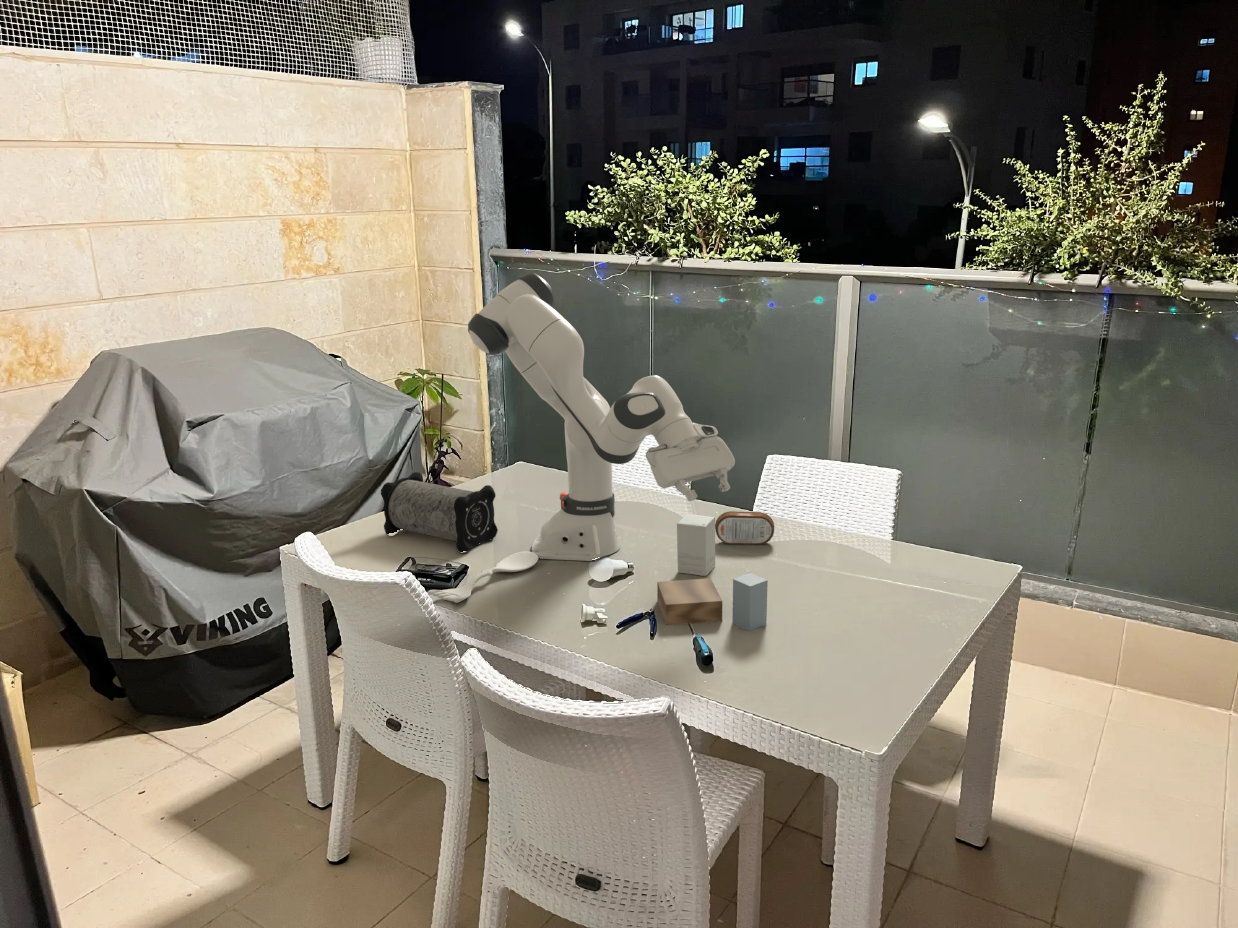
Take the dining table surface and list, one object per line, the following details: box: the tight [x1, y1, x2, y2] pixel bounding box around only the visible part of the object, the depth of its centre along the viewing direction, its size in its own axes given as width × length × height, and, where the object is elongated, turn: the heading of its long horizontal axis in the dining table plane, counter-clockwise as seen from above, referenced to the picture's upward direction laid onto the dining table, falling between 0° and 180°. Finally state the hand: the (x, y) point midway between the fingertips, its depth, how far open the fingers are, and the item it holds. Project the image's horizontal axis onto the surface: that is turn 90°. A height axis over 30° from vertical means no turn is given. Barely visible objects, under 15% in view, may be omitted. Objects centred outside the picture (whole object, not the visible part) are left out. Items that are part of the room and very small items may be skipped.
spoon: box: [427, 550, 539, 603], centre depth 223 cm, size 9×32×3 cm, turn 147°
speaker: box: [380, 471, 499, 553], centre depth 251 cm, size 15×29×15 cm, turn 58°
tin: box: [715, 510, 775, 546], centre depth 243 cm, size 15×3×8 cm, turn 84°
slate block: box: [731, 572, 769, 632], centre depth 198 cm, size 5×5×10 cm
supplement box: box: [676, 513, 716, 577], centre depth 227 cm, size 7×7×13 cm
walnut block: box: [656, 578, 723, 626], centre depth 206 cm, size 12×12×5 cm
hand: (710, 494), depth 202 cm, fingers open, 8 cm apart
